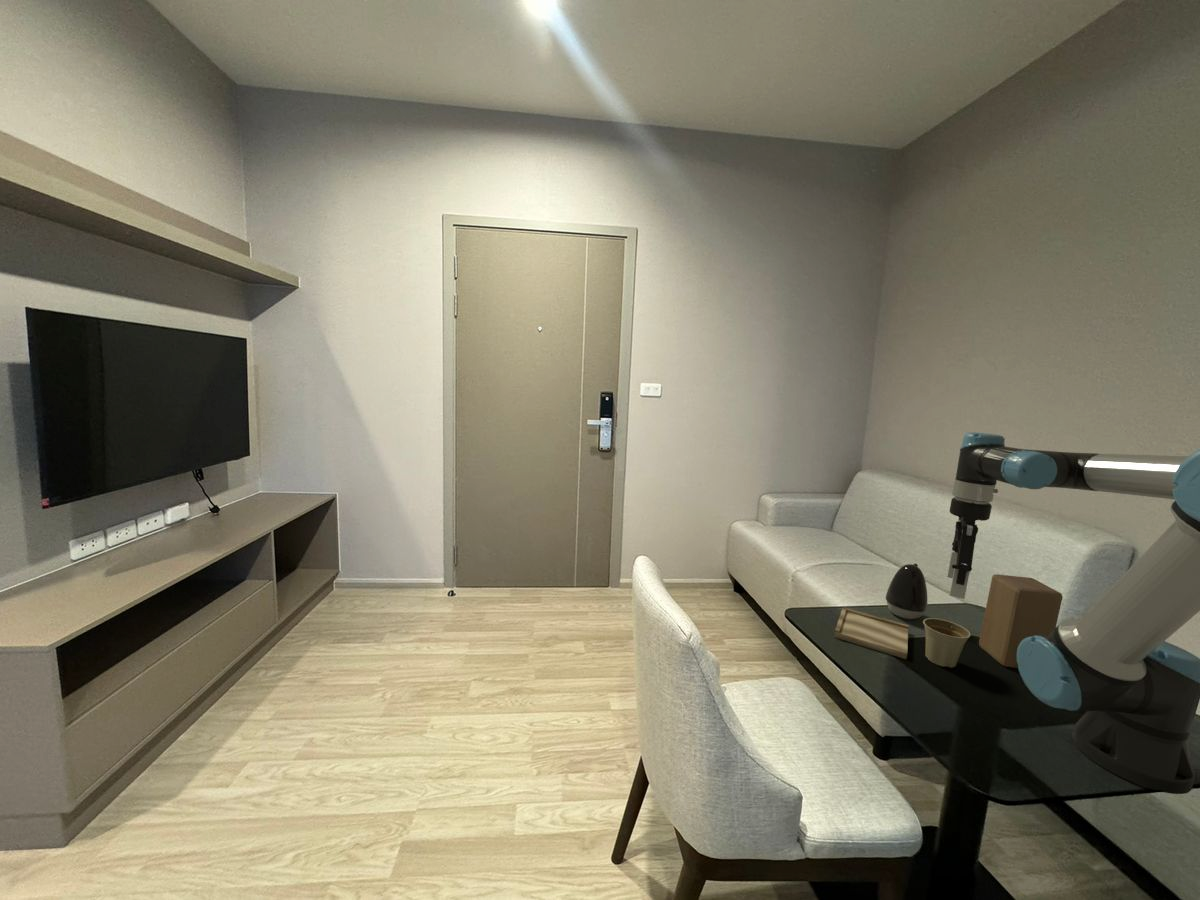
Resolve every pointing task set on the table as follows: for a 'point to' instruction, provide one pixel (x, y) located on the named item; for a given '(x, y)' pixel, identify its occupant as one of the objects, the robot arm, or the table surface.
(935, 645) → the flower pot
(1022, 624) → the wooden block
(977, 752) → the table surface
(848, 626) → the board
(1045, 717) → the table surface
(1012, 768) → the table surface
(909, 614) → the black egg-shaped piece
